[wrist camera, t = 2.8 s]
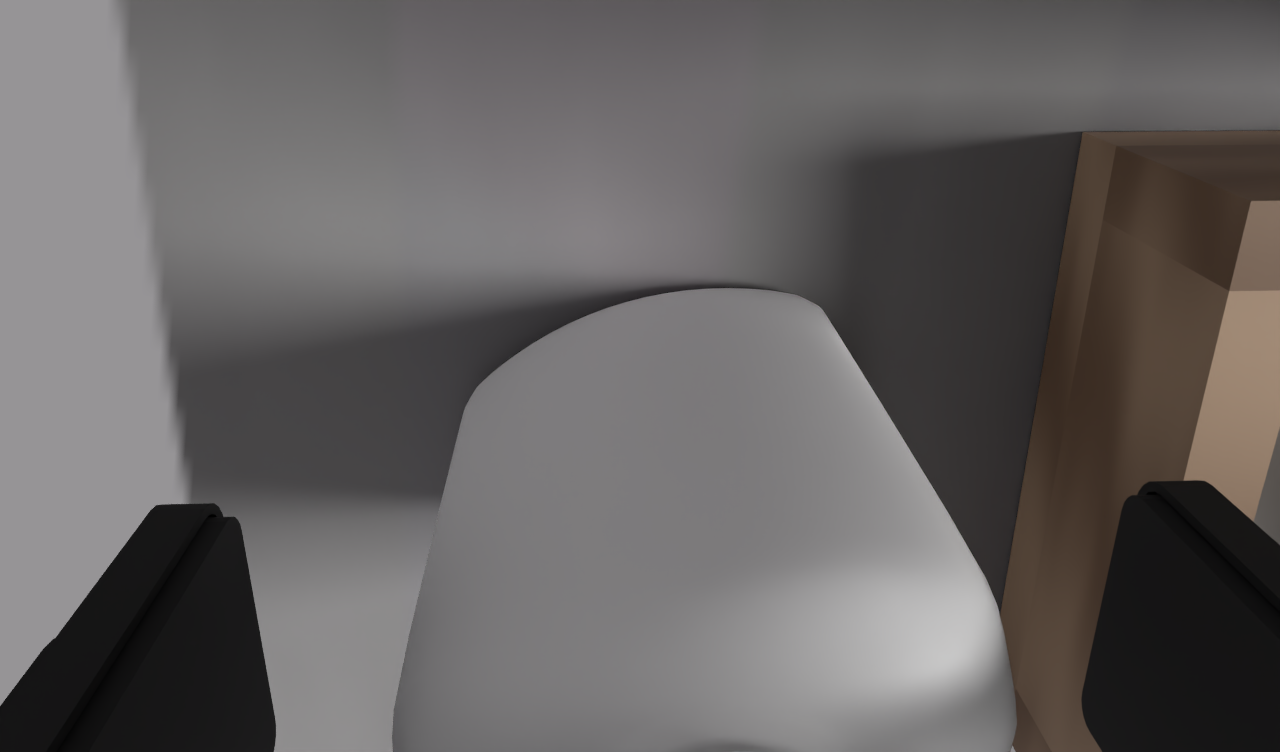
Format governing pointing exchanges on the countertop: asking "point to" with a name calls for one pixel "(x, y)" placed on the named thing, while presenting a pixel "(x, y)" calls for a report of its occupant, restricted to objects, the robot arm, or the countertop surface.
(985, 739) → the eye dropper bottle
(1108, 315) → the bottle holder
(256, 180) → the countertop surface
